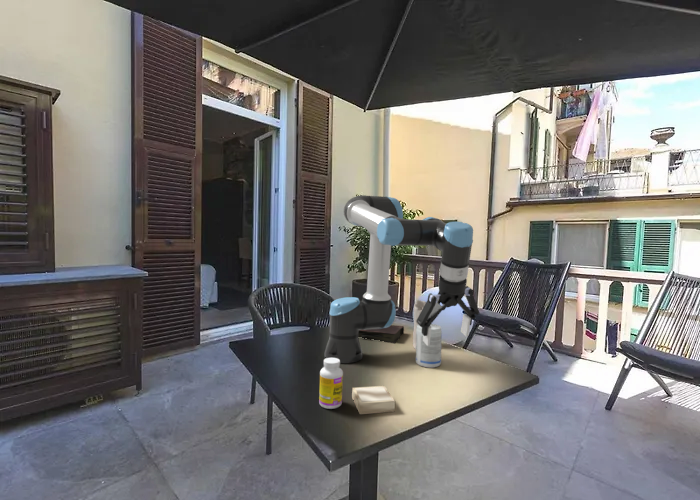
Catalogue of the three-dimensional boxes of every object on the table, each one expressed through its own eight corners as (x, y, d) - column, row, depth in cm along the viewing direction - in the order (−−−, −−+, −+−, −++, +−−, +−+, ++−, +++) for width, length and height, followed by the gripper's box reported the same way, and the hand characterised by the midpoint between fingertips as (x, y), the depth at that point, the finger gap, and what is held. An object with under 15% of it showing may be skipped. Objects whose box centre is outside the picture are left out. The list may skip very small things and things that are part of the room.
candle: (414, 351, 149) (415, 304, 148) (412, 341, 163) (413, 299, 162) (431, 352, 148) (433, 305, 148) (428, 342, 162) (429, 299, 161)
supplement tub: (446, 365, 134) (447, 327, 133) (428, 370, 128) (429, 330, 128) (427, 357, 142) (428, 322, 141) (410, 362, 136) (411, 324, 136)
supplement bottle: (333, 412, 96) (334, 366, 96) (314, 405, 100) (315, 361, 99) (346, 402, 102) (347, 359, 101) (328, 396, 105) (329, 354, 105)
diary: (357, 329, 185) (357, 319, 185) (403, 335, 176) (404, 325, 176) (343, 337, 168) (344, 327, 168) (394, 345, 159) (394, 334, 159)
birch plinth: (352, 397, 105) (352, 387, 105) (383, 395, 107) (384, 385, 107) (359, 414, 96) (360, 403, 95) (394, 411, 98) (394, 400, 97)
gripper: (421, 290, 92) (415, 355, 100) (498, 275, 99) (487, 337, 108) (407, 277, 98) (403, 339, 107) (481, 265, 106) (472, 323, 114)
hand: (445, 338), depth 107 cm, fingers open, 13 cm apart
